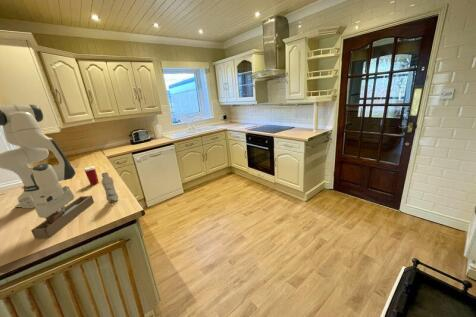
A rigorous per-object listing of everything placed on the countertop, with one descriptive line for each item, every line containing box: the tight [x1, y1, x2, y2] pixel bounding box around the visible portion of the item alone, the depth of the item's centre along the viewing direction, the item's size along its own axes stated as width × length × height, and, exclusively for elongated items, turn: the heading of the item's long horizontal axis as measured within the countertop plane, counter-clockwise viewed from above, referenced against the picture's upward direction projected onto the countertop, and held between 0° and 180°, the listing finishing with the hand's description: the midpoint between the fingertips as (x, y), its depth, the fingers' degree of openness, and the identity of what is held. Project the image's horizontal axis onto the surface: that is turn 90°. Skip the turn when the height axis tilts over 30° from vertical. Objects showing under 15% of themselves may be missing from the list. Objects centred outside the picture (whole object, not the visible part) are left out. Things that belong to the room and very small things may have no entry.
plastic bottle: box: [100, 172, 119, 203], centre depth 131 cm, size 6×7×20 cm
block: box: [45, 212, 62, 225], centre depth 110 cm, size 4×4×4 cm
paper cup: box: [83, 165, 100, 186], centre depth 164 cm, size 8×8×14 cm
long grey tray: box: [30, 195, 95, 240], centre depth 118 cm, size 8×34×5 cm, turn 0°
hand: (62, 214), depth 114 cm, fingers closed
